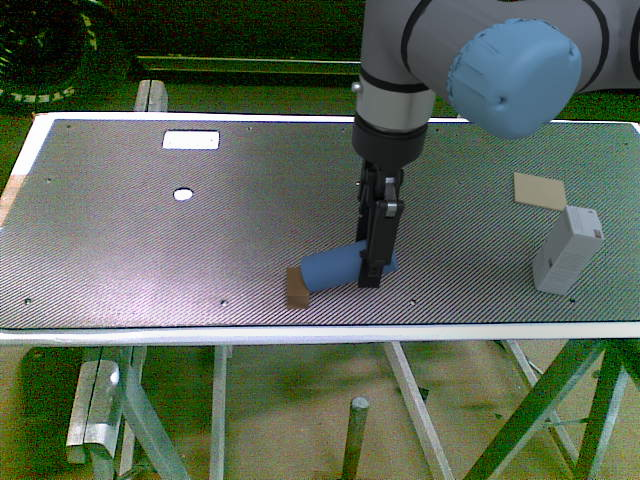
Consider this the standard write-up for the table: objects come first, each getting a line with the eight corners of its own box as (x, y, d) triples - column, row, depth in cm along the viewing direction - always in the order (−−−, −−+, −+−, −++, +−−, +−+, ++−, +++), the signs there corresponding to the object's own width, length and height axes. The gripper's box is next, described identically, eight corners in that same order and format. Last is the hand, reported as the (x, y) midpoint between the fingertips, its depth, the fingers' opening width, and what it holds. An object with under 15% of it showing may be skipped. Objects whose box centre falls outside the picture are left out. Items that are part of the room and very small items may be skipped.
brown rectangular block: (307, 281, 68) (308, 267, 66) (308, 309, 65) (309, 295, 63) (286, 281, 68) (286, 267, 66) (286, 309, 65) (286, 295, 63)
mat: (567, 213, 83) (568, 211, 82) (514, 202, 84) (515, 200, 84) (562, 182, 89) (563, 181, 89) (513, 173, 90) (513, 171, 90)
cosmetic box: (530, 262, 74) (562, 202, 65) (560, 267, 73) (596, 208, 65) (535, 292, 69) (570, 232, 61) (567, 298, 69) (606, 238, 60)
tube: (391, 238, 65) (384, 229, 60) (400, 273, 63) (394, 266, 59) (310, 260, 68) (297, 253, 63) (317, 294, 66) (304, 290, 62)
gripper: (347, 72, 54) (333, 223, 70) (364, 168, 41) (343, 325, 57) (412, 74, 54) (384, 223, 71) (450, 169, 41) (404, 324, 58)
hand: (365, 268), depth 64 cm, fingers closed on tube, 5 cm apart
